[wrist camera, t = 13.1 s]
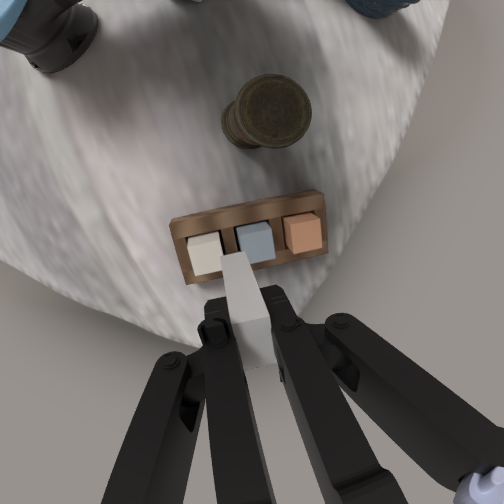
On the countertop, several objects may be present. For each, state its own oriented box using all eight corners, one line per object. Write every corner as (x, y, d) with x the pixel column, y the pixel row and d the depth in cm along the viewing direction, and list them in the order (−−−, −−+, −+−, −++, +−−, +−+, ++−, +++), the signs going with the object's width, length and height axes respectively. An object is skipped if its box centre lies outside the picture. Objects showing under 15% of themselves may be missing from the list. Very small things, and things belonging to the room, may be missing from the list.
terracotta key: (283, 241, 49) (293, 254, 44) (280, 215, 47) (290, 224, 42) (309, 235, 50) (322, 247, 44) (307, 209, 48) (320, 218, 42)
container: (213, 110, 40) (217, 88, 24) (262, 90, 40) (295, 61, 24) (235, 157, 44) (253, 164, 27) (283, 137, 44) (327, 134, 27)
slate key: (240, 251, 49) (244, 265, 43) (234, 224, 47) (239, 235, 41) (267, 245, 49) (275, 258, 44) (263, 218, 47) (271, 228, 42)
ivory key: (196, 260, 48) (195, 276, 42) (189, 234, 46) (187, 247, 40) (223, 254, 48) (226, 269, 43) (217, 228, 46) (219, 239, 41)
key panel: (187, 274, 50) (186, 285, 47) (171, 219, 46) (168, 225, 42) (320, 245, 52) (328, 252, 49) (315, 189, 48) (323, 193, 44)
